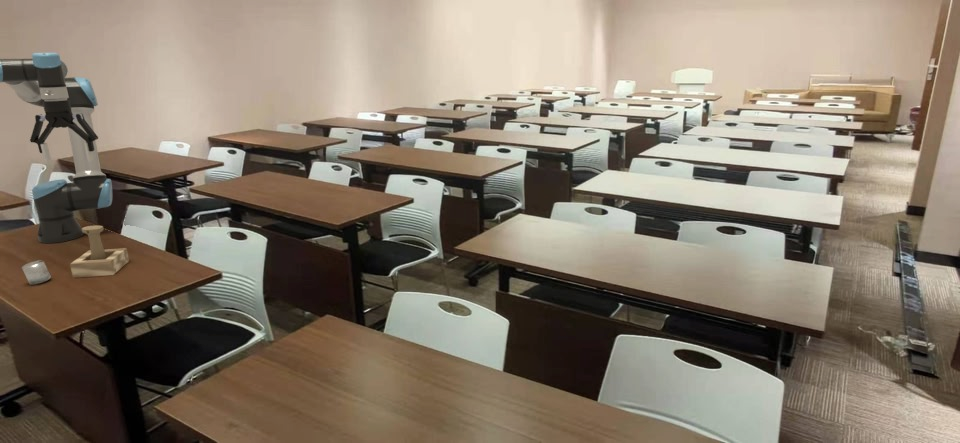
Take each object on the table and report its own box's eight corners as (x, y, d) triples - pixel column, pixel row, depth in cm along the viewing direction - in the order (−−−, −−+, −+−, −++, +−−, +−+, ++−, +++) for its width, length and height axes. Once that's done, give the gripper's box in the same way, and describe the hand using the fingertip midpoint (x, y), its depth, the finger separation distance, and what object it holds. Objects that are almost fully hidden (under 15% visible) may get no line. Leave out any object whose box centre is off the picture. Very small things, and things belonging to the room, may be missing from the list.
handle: (105, 270, 197) (96, 229, 193) (87, 270, 198) (78, 229, 193) (114, 265, 202) (106, 225, 198) (97, 265, 202) (88, 225, 198)
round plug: (40, 284, 187) (33, 268, 184) (25, 285, 188) (17, 269, 185) (55, 275, 192) (47, 259, 190) (40, 276, 193) (32, 260, 191)
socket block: (91, 263, 205) (88, 250, 204) (129, 261, 208) (126, 248, 206) (73, 277, 193) (69, 264, 191) (113, 275, 195) (110, 261, 193)
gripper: (7, 101, 187) (23, 165, 193) (91, 100, 191) (103, 162, 198) (21, 99, 194) (35, 160, 201) (100, 98, 198) (113, 157, 205)
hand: (69, 161), depth 199 cm, fingers open, 13 cm apart
